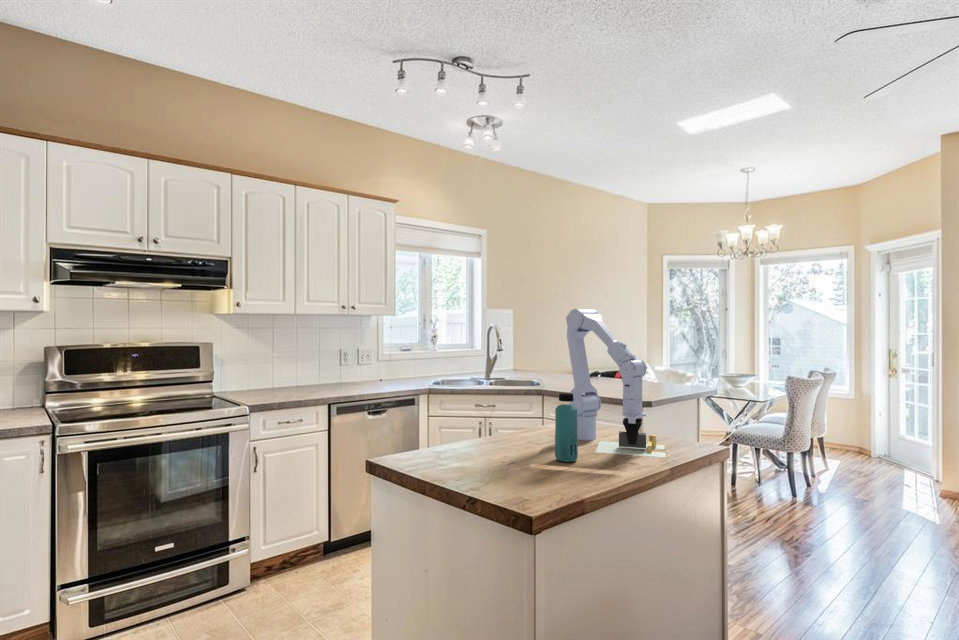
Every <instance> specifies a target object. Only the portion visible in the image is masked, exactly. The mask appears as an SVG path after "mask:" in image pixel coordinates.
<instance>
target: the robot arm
mask: <svg viewBox="0 0 959 640" xmlns="http://www.w3.org/2000/svg"><path fill="white" fill-rule="evenodd" d="M565 319H566V320H565V321H566V328H567V329H566V338H567V340H566V341H567V345H568V353H569V358H570V365H571V371H572V377H573V384H574V385H573V388H572V389H571V390H570V392H569V393H572V394H573V398H574V401H570V402H568V403H569V404H570V405H574V406H575V407H576V408H577V420H578V421H577V423H578V426H577V439H578V440H579V441H594V440H596V439H597V414H598V411H599V410H600V409H601V407H602V401H601V397H600V395H599V394H598V390H597V388H596V387H595V386H593V384H592V381H591V375H590V370H589V363H588V359H587V353H586V352H587V351H586V350H587V349H586V345H585V344H586V343H585V337H586V335H588V333H590V332H591V331H592V333H594V334H595V335H596V336H597V337H598V338H599V339H600V340H601V342H602V343H603V344H604V345H605V346H606V347H607V354H608V356H610V358H611V359H612V360H613V361H614V363H615V364H616V365H617V367H618V371H619V372H618V373H619V375H620V377H621V383H622V412H621V415H622V416H623V420H622V425H623V427H624V429H625V432H626V433H627V439H628V443H629V444H631V445H636V442H637V436H638V432H639V431H640V428H641V426H642V424H643V418H642V417H647V413H646V412H643V377H644V376H645V375H646V373H647V365H646V363H645V361H644V360H643V359H641V358H637V356H636V355H635V354H633V353H632V351H630V349H629V348H628V347H627V343H626V342H625V341H624V342H623V341H622V340H617V339H616V337H615V336H614V335H613V334H612V332H611V331H610V330H609V328H608V326H606V323H605V322H604V321H603V317H602V315H601V314H599V312H598V311H597V310H596V309H595V308H588V309H585V308H584V309H583V308H582V309H581V308H580V309H579V308H573V309H571V310H570V311H569V312H568V314H567V315H566V316H565ZM578 440H577V441H578Z"/></svg>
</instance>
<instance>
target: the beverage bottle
mask: <svg viewBox="0 0 959 640" xmlns="http://www.w3.org/2000/svg"><path fill="white" fill-rule="evenodd" d="M559 401H560V402H566V403H565V404H564V403H563V404H561V403H560V404H558V405H557V406H556V407H555V408H554V413H555V417H554V418H555V419H554V421H555V423H554V424H555V425H554V427H555V430H554V457H555V459H556V460H557V461H559V462H575V461H577V460H578V456H579V454H578V452H579V450H578V447H579V443H578V439H577V426H578V423H577V421H578V420H577V408H576V407H575V406H574V405H570V404H567V402H568V403H569V402H570V401H574V398H573V394H572V393H570V392H560V393H559V395H558V402H559Z"/></svg>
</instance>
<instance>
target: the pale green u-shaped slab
mask: <svg viewBox="0 0 959 640" xmlns="http://www.w3.org/2000/svg"><path fill="white" fill-rule="evenodd" d="M653 450H665V445H664V444H657V435H656V434H649V435H648V440H647V443H646V448H632V447H619V441H605V440H599V441H598V443H597V447H596V449H595V453H598V454H612V455H623V456H625V455H626V456H638V457H640V456H641V457H651V458H665V459H666V457H667V456H666V452H661V451H653Z"/></svg>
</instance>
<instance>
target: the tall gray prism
mask: <svg viewBox="0 0 959 640" xmlns="http://www.w3.org/2000/svg"><path fill="white" fill-rule="evenodd" d="M618 442H619V447H632V448H646V444H647V433H646V432H639V431H638V436H637V442H636V445H631V444H629V443H628V439H627V433H626V431H618Z"/></svg>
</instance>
